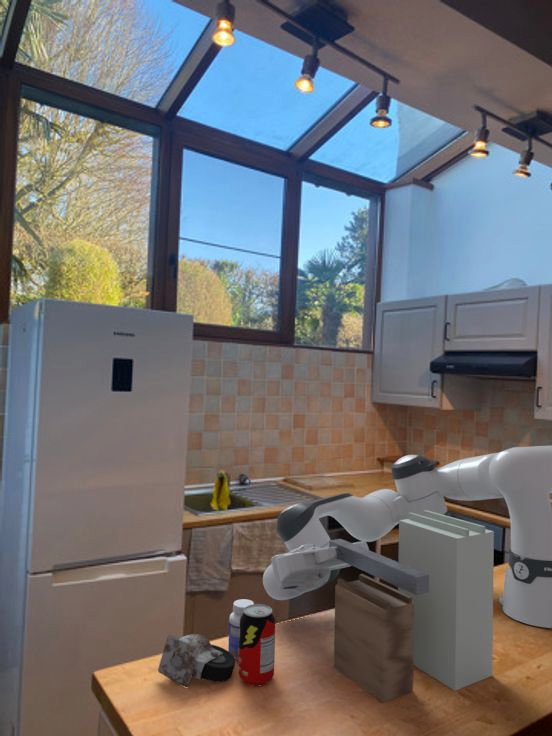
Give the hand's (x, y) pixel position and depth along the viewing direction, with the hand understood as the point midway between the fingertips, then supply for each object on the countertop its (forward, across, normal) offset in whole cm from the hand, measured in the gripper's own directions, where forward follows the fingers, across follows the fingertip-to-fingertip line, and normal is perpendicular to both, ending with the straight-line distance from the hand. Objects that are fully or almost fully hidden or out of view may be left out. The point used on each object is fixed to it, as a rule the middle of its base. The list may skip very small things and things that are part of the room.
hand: (345, 549), depth 104 cm
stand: (-1, -15, -23) cm, 28 cm away
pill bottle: (-20, +16, -13) cm, 29 cm away
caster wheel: (-18, +26, -14) cm, 34 cm away
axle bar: (+6, 0, -6) cm, 8 cm away
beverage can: (-12, +18, -17) cm, 28 cm away
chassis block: (-4, 0, -22) cm, 22 cm away
